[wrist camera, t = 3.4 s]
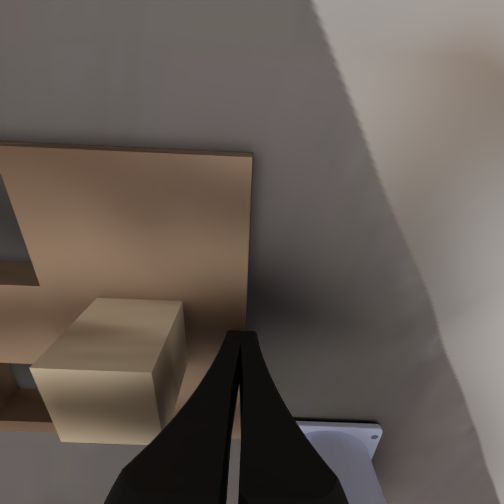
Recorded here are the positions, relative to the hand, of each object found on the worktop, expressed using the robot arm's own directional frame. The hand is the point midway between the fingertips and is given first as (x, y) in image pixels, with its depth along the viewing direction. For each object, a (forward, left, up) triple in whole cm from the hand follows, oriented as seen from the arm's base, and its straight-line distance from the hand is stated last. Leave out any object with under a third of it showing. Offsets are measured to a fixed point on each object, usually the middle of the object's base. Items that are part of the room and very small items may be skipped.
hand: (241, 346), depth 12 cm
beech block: (0, +5, -1) cm, 5 cm away
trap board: (0, +11, -3) cm, 12 cm away
